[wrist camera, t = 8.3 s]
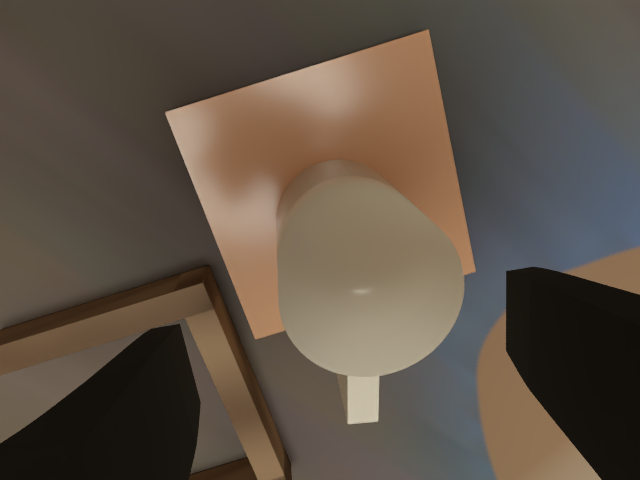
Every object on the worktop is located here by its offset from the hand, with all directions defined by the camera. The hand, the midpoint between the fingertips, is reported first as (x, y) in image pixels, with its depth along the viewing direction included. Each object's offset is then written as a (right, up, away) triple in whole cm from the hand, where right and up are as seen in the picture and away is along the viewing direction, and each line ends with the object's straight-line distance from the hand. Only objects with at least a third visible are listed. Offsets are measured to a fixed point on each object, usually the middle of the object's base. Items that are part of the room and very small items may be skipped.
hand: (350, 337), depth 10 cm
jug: (0, +2, +9) cm, 9 cm away
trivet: (0, +4, +9) cm, 10 cm away
